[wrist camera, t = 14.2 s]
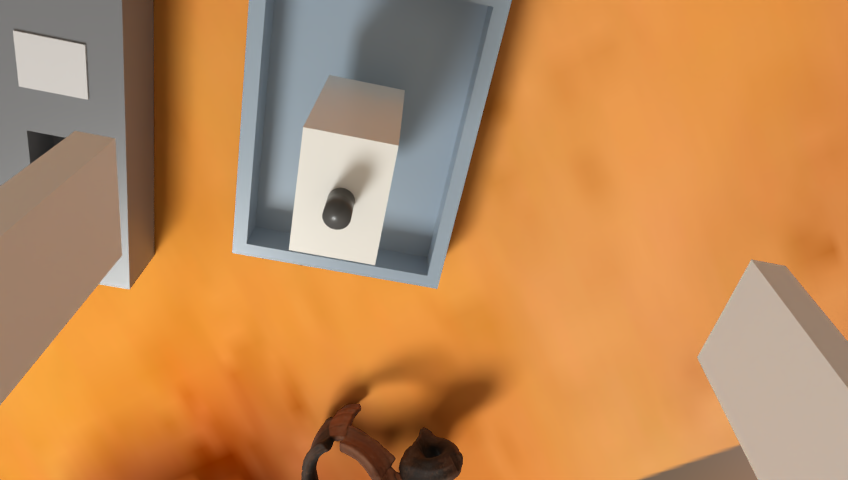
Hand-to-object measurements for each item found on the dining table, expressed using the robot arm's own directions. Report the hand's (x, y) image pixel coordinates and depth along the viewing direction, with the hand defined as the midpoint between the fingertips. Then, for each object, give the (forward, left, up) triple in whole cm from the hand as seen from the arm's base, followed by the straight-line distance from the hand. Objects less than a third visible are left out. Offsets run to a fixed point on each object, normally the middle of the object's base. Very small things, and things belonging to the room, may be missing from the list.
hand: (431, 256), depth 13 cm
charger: (+6, -3, -24) cm, 25 cm away
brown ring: (+31, +3, -25) cm, 40 cm away
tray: (+6, -3, -25) cm, 25 cm away
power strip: (+2, -18, -25) cm, 31 cm away
